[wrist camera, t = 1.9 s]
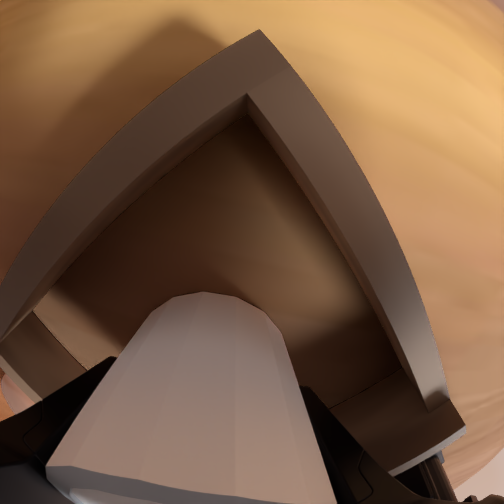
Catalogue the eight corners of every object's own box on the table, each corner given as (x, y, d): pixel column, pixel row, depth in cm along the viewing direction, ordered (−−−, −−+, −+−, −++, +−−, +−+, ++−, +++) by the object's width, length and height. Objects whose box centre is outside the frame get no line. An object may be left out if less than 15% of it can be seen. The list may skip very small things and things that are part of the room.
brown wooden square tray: (424, 366, 11) (465, 433, 7) (200, 465, 14) (193, 525, 9) (255, 69, 7) (263, -8, 3) (12, 303, 10) (-43, 356, 5)
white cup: (261, 422, 12) (266, 554, 5) (119, 380, 11) (66, 509, 4) (334, 311, 10) (411, 493, 3) (142, 245, 9) (1, 412, 2)
